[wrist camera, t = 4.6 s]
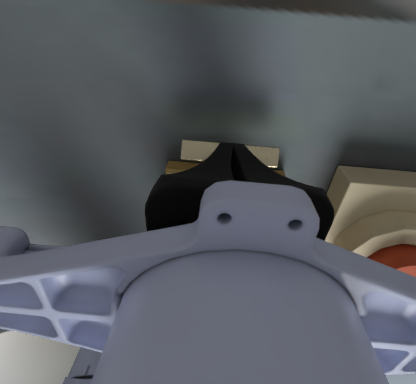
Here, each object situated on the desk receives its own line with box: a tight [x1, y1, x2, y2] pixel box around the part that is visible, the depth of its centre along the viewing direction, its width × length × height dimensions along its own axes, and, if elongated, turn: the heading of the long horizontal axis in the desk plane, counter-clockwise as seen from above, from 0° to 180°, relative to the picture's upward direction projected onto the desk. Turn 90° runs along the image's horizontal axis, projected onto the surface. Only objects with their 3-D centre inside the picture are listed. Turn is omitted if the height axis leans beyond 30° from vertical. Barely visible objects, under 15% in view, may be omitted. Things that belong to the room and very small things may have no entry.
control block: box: [325, 165, 416, 258], centre depth 18 cm, size 10×8×4 cm
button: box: [367, 244, 416, 277], centre depth 16 cm, size 4×4×2 cm
